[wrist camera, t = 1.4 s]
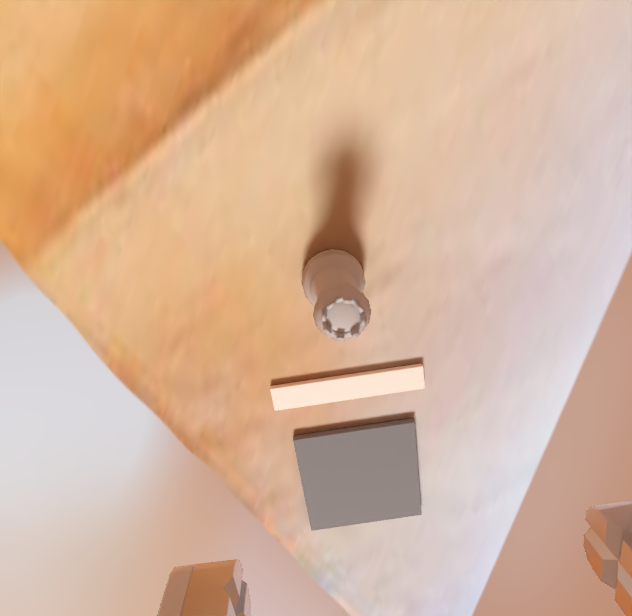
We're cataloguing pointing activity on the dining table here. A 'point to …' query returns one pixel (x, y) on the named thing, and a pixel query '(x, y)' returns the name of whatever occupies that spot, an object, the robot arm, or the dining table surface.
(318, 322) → the rook chess piece
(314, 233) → the dining table surface
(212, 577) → the robot arm
